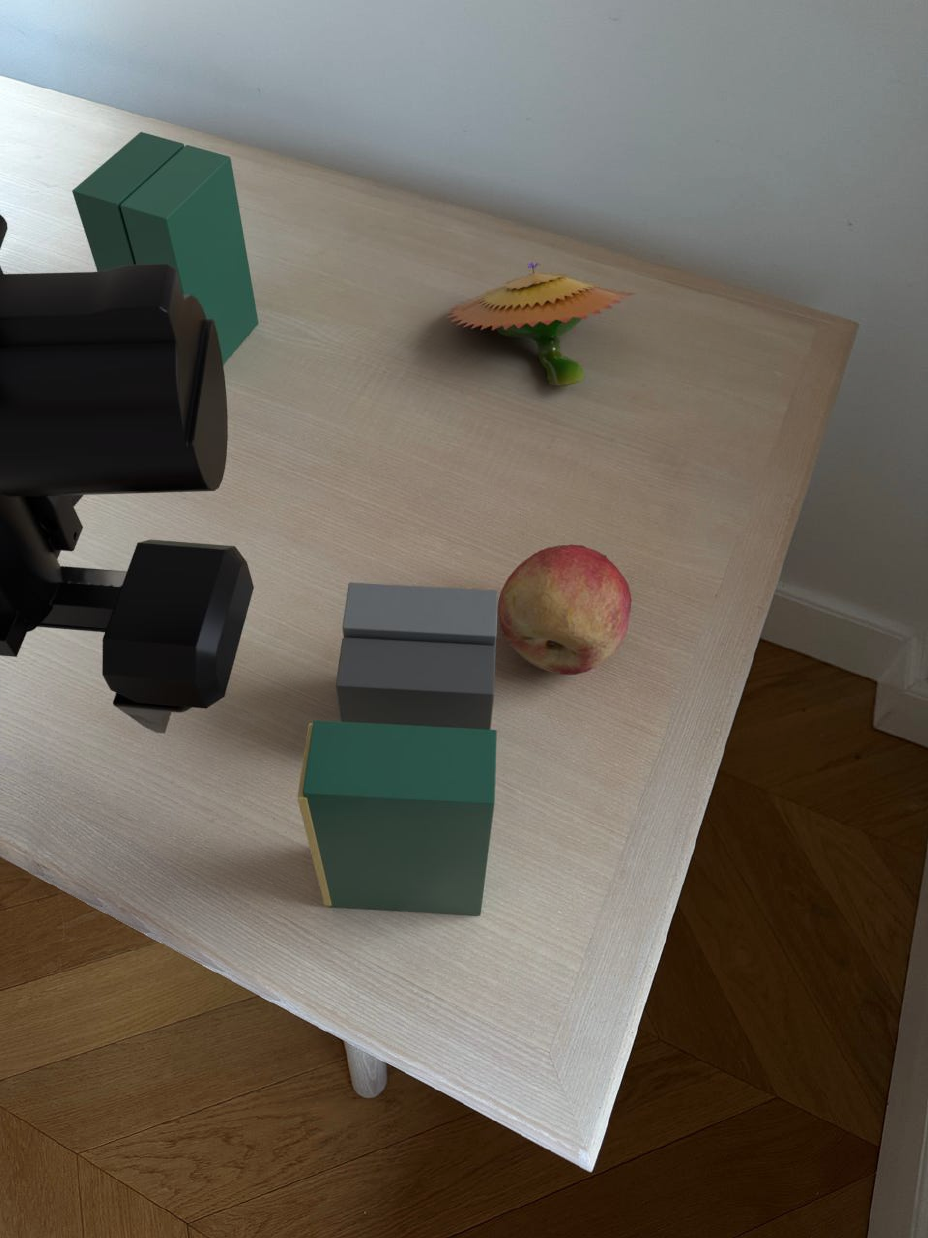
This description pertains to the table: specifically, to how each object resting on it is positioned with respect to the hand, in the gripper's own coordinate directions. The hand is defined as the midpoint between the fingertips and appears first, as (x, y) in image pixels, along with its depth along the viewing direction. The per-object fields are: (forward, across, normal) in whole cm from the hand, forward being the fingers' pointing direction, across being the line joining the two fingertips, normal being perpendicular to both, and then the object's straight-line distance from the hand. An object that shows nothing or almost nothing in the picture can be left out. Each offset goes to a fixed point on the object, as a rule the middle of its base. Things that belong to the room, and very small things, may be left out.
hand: (62, 714), depth 45 cm
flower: (+14, -20, -44) cm, 50 cm away
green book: (+13, -15, +1) cm, 20 cm away
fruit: (+14, -23, -15) cm, 30 cm away
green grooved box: (+13, +7, -40) cm, 43 cm away
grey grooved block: (+13, -15, -8) cm, 21 cm away
